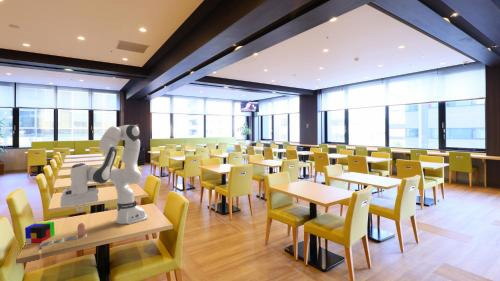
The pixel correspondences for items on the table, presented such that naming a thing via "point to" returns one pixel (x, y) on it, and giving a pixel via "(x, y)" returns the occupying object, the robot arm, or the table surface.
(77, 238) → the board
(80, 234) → the pawn
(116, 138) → the robot arm
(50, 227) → the puzzle toy
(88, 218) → the table surface
